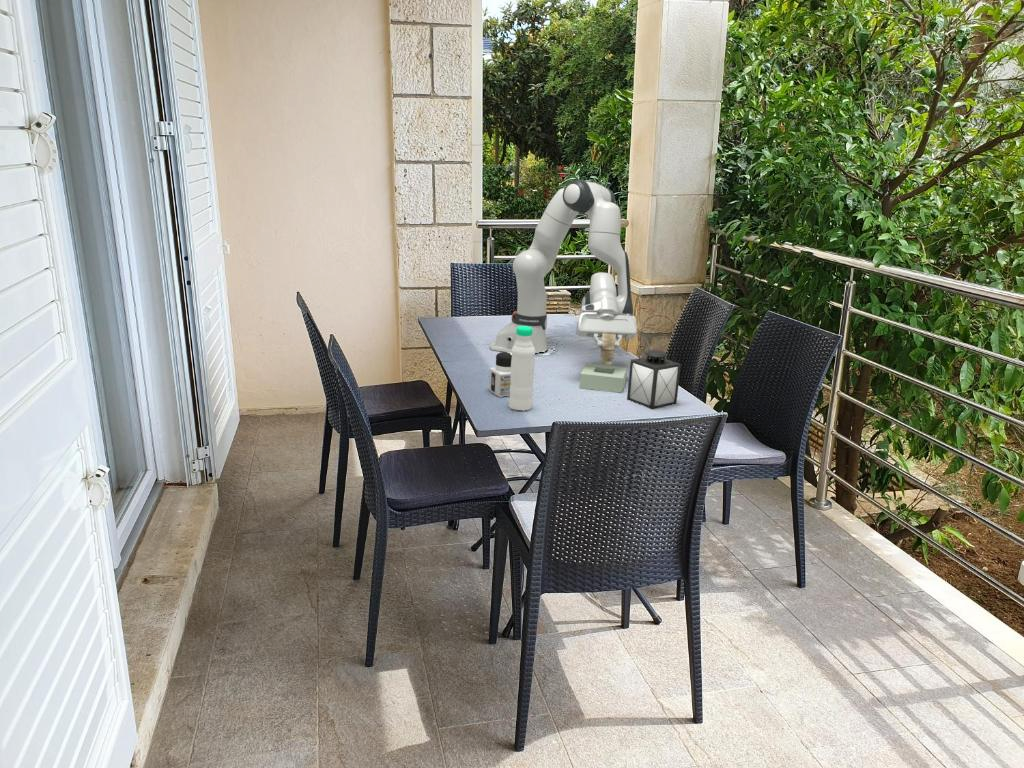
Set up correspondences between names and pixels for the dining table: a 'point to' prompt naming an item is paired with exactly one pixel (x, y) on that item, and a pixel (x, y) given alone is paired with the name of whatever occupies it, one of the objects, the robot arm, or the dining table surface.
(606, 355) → the peg
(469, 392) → the dining table surface
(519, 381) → the water bottle
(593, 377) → the hole block
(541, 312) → the robot arm
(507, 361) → the container
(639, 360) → the lantern
